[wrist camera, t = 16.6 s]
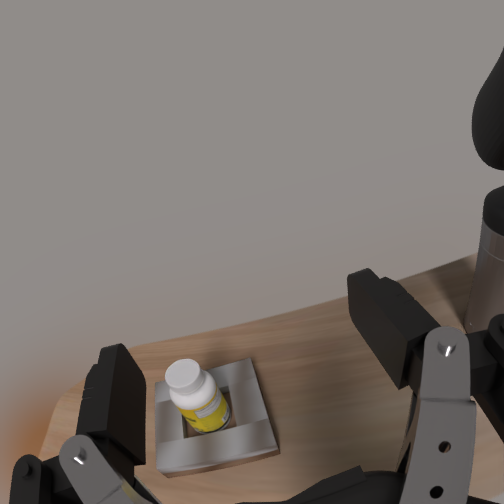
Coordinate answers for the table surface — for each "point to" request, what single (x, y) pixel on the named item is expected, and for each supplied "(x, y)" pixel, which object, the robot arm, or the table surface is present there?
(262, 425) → the mount block
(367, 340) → the robot arm
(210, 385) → the supplement bottle
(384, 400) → the table surface
